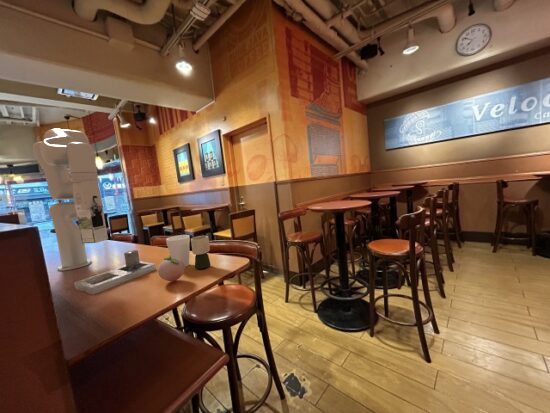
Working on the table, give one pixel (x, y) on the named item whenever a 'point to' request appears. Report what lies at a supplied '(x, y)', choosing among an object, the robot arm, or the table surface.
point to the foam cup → (179, 248)
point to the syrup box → (90, 226)
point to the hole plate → (116, 274)
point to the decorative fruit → (171, 269)
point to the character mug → (201, 251)
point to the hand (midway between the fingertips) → (92, 226)
